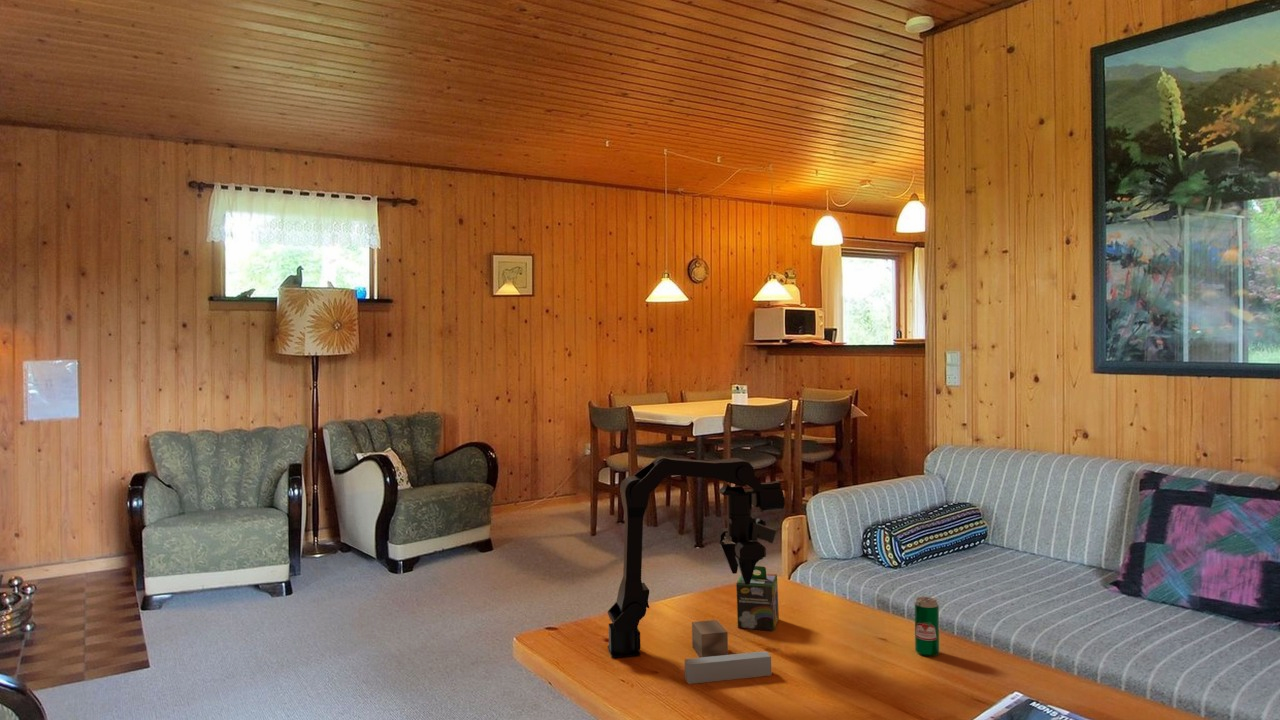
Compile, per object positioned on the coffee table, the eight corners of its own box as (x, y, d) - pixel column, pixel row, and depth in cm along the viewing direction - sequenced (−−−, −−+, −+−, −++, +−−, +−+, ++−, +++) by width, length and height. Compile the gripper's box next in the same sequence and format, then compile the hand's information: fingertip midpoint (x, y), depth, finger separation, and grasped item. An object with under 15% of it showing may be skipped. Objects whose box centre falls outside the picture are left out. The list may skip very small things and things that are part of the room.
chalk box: (779, 619, 198) (778, 561, 198) (774, 631, 189) (773, 571, 189) (743, 616, 201) (742, 558, 201) (736, 628, 192) (735, 568, 192)
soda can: (913, 655, 173) (912, 601, 173) (917, 647, 178) (916, 594, 178) (937, 659, 171) (937, 604, 171) (940, 650, 176) (939, 597, 175)
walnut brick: (701, 661, 172) (701, 634, 172) (692, 647, 180) (692, 622, 180) (727, 658, 174) (727, 631, 174) (717, 645, 181) (716, 619, 181)
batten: (688, 684, 160) (688, 664, 160) (684, 678, 163) (684, 659, 163) (771, 675, 164) (771, 656, 164) (766, 669, 167) (766, 651, 167)
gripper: (787, 518, 176) (788, 587, 176) (758, 503, 194) (759, 565, 194) (740, 521, 174) (741, 591, 174) (715, 505, 192) (716, 569, 192)
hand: (740, 578), depth 184 cm, fingers open, 9 cm apart
